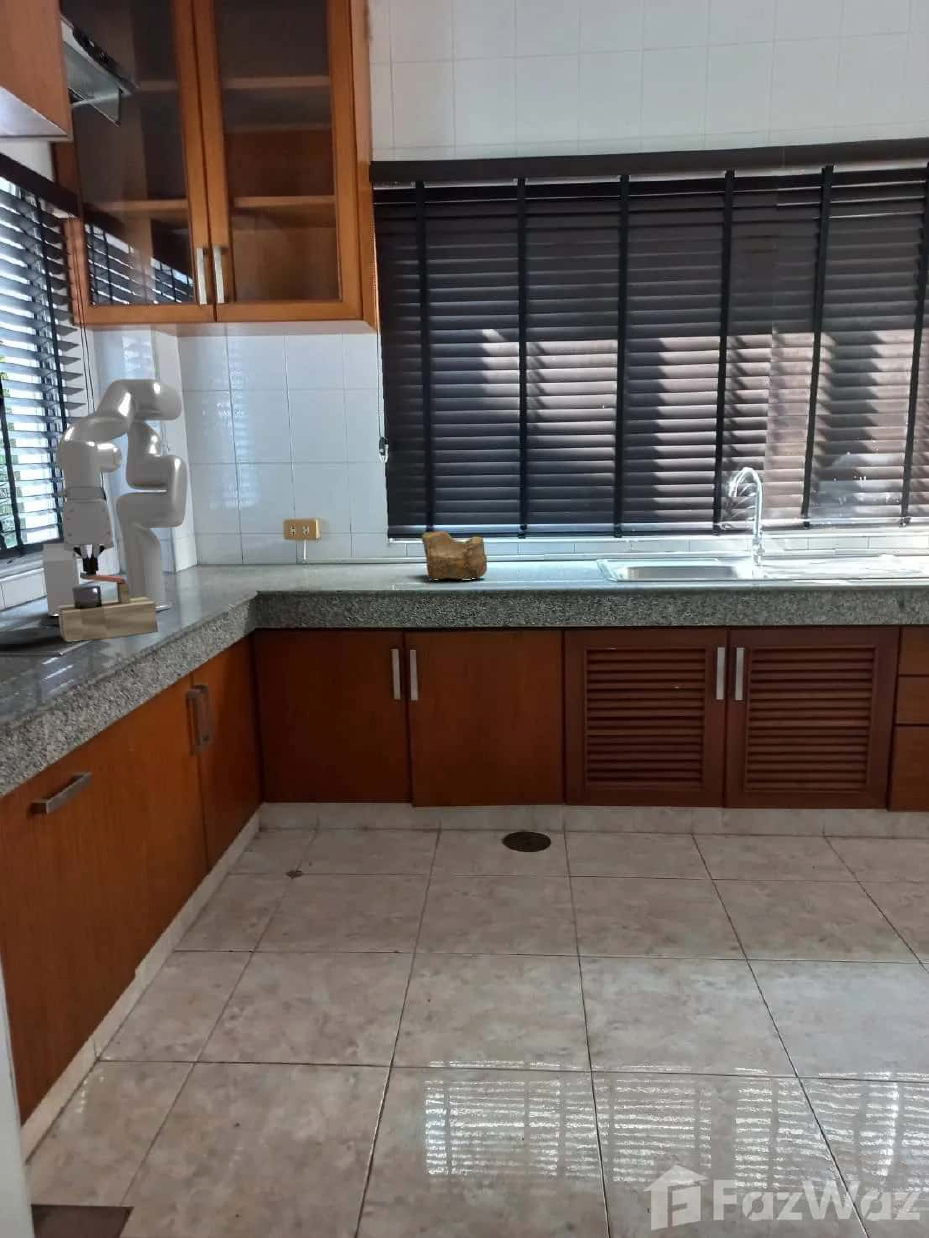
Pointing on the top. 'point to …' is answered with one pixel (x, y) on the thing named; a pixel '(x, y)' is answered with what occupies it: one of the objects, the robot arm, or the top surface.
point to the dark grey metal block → (87, 597)
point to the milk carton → (59, 576)
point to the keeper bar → (102, 578)
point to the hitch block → (109, 618)
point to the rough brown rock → (453, 556)
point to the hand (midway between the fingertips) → (91, 574)
